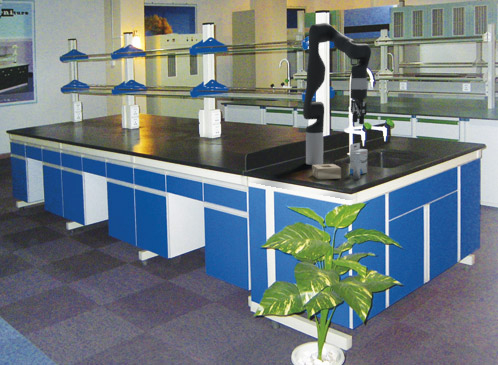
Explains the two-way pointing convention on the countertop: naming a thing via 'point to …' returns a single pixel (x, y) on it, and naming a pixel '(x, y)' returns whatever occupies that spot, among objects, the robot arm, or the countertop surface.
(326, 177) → the hole block
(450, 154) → the countertop surface
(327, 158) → the countertop surface
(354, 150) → the ink box
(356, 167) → the metal pin
